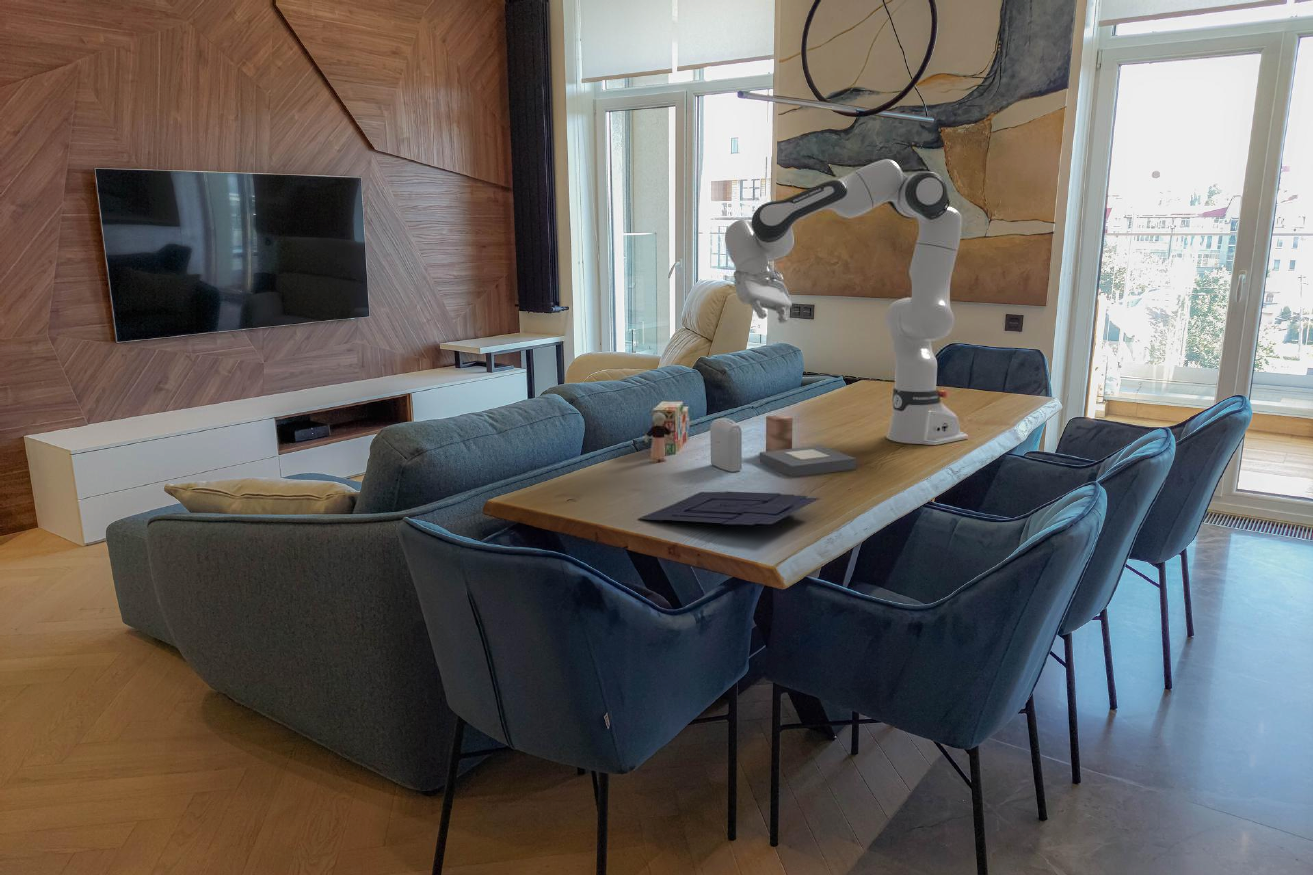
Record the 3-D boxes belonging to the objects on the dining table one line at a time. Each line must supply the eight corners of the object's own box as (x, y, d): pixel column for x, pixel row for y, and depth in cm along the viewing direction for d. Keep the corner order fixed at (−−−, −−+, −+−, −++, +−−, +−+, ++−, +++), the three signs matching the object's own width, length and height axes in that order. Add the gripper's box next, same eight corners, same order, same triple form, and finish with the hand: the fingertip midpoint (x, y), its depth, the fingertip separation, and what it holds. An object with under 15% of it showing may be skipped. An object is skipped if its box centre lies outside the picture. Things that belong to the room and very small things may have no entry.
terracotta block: (782, 451, 237) (782, 414, 235) (791, 455, 232) (792, 417, 230) (765, 453, 235) (766, 416, 233) (775, 457, 230) (775, 419, 228)
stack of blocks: (668, 437, 257) (668, 395, 254) (689, 438, 256) (689, 396, 253) (652, 454, 236) (652, 408, 234) (676, 455, 235) (675, 409, 233)
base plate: (820, 455, 231) (820, 444, 231) (856, 469, 217) (856, 457, 216) (759, 462, 225) (759, 451, 224) (792, 477, 210) (792, 464, 210)
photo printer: (708, 464, 224) (708, 416, 221) (722, 462, 226) (722, 414, 223) (728, 473, 215) (729, 423, 212) (744, 471, 217) (744, 421, 214)
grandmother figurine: (651, 464, 225) (650, 415, 222) (643, 461, 228) (642, 412, 225) (676, 459, 229) (675, 411, 226) (667, 457, 232) (667, 409, 230)
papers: (768, 541, 162) (766, 522, 161) (637, 532, 179) (635, 514, 179) (825, 509, 181) (824, 491, 180) (703, 503, 199) (701, 487, 198)
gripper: (740, 262, 228) (759, 307, 223) (785, 275, 243) (803, 318, 239) (723, 275, 232) (741, 320, 227) (768, 288, 247) (786, 331, 242)
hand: (773, 320), depth 233 cm, fingers open, 8 cm apart
